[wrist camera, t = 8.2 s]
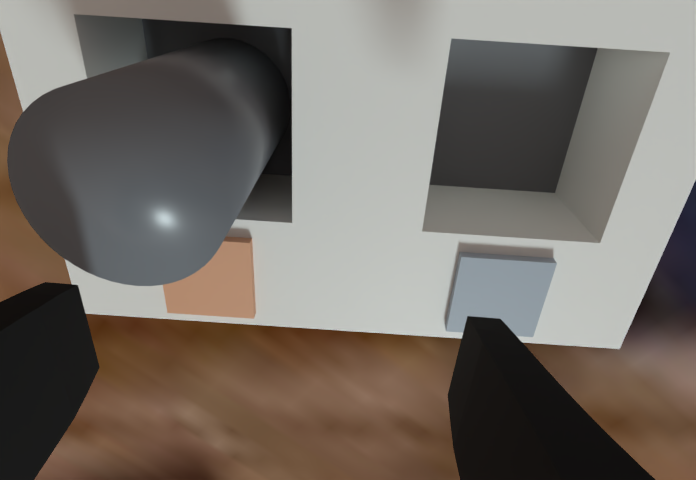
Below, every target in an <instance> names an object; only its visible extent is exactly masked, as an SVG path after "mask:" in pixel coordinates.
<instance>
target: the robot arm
mask: <svg viewBox="0 0 696 480" xmlns="http://www.w3.org/2000/svg"><path fill="white" fill-rule="evenodd" d="M98 369H99V364H98V360H97V356H96V352H95V348H94V345H93V341H92V337H91V333H90V329H89V325H88V321H87V318H86V314H85V310H84V306H83V302H82V298H81V295H80V291H79V287H78V285H72V284H60V283H47V282H45V283H42V284H40V285H37V286H35V287H33V288H30V289H28V290H26V291H23V292H21V293H19V294H17V295H15V296H12V297H10V298H8V299H6V300H4V301H2V302H0V480H34V479H35V477H36V476H37V474H38V473H39V471H40V470H41V468H42V467H43V465H44V464H45V462H46V461H47V459H48V458H49V456H50V455H51V453H52V452H53V450H54V449H55V447H56V446H57V444H58V442H59V441H60V439H61V438H62V436H63V435H64V433H65V432H66V430H67V429H68V427H69V426H70V424H71V422H72V421H73V419H74V418H75V416H76V414H77V412H78V410H79V408H80V406H81V404H82V402H83V400H84V398H85V397H86V395H87V392H88V390H89V388H90V386H91V384H92V382H93V380H94V378H95V375H96V373H97V371H98ZM448 401H449V412H450V422H451V431H452V439H453V448H454V453H455V457H456V462H457V467H458V471H459V476H460V480H655V479H654V478H653V477H652V476H651V475H650V474H649V473H648V472H646V471H645V470H644V469H643V468H642V467H641V466H640V465H639V464H638V463H637V462H636V461H635V460H634V459H633V458H632V457H631V456H630V455H629V454H628V453H627V452H626V451H625V450H624V449H623V448H621V447H620V446H619V445H618V444H617V443H616V442H615V441H614V440H613V439H612V438H611V437H610V436H609V435H608V434H607V433H606V432H605V431H604V430H603V429H602V428H601V427H600V426H599V425H598V424H597V423H596V422H595V421H594V420H593V419H592V418H591V417H590V416H589V415H588V414H587V413H586V412H585V411H584V410H583V409H582V407H581V406H580V405H579V404H578V403H577V402H576V401H575V400H574V399H573V398H572V397H571V396H570V395H569V394H568V393H567V392H566V391H565V389H564V388H563V387H562V386H561V385H560V384H559V383H558V382H557V381H556V380H555V379H554V378H553V376H552V375H551V374H550V373H549V372H548V371H547V370H546V369H545V368H544V366H543V365H542V364H541V363H540V362H539V361H538V360H537V359H536V358H535V356H534V355H533V354H532V353H531V352H530V351H529V350H528V349H527V347H526V346H525V345H524V344H523V343H522V342H521V341H520V340H519V338H518V337H517V336H516V335H515V334H514V333H513V332H512V331H511V329H510V328H509V327H508V326H507V325H506V324H505V323H504V322H503V321H502V320H501V319H499V318H486V317H474V316H467V320H466V324H465V328H464V332H463V336H462V340H461V344H460V348H459V352H458V356H457V360H456V364H455V368H454V372H453V376H452V380H451V384H450V388H449V393H448Z"/></svg>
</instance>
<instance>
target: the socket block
mask: <svg viewBox="0 0 696 480" xmlns="http://www.w3.org/2000/svg"><path fill="white" fill-rule="evenodd" d="M0 31H1V35H2V38H3V42H4V46H5V49H6V53H7V56H8V60H9V63H10V67H11V70H12V74H13V77H14V81H15V84H16V88H17V92H18V95H19V99H20V102H21V106H22V109H23V112H24V111H25V110H26V108H27V107H28V106H29V105H30V104H31V103H32V102H34V101H35V100H36V99H38V98H39V97H40V96H42V95H43V94H45V93H47V92H49V91H51V90H53V89H55V88H59V87H62V86H65V85H68V84H71V83H74V82H78V81H81V80H84V79H87V78H90V77H93V76H97V75H100V74H103V73H106V72H109V71H112V70H116V69H119V68H122V67H125V66H128V65H131V64H135V63H138V62H141V61H144V60H147V59H150V58H154V57H157V56H160V55H163V54H166V53H169V52H173V51H176V50H179V49H182V48H185V47H188V46H192V45H195V44H198V43H201V42H204V41H207V40H211V39H217V38H229V39H236V40H239V41H243V42H245V43H248V44H250V45H252V46H254V47H256V48H257V49H259V50H260V51H262V52H263V53H264V54H265V55H267V56H268V57H269V58H270V59H271V60H272V61H273V63H274V64H275V65H276V66H277V68H278V69H279V71H280V72H281V74H282V76H283V78H284V80H285V82H286V85H287V88H288V92H289V97H290V116H289V121H288V125H287V127H286V130H285V132H284V134H283V136H282V138H281V139H280V141H279V143H278V145H277V146H276V148H275V150H274V152H273V154H272V155H271V157H270V159H269V161H268V162H267V164H266V166H265V168H264V170H263V171H262V173H261V175H260V177H259V178H258V180H257V182H256V184H255V186H254V187H253V189H252V191H251V193H250V194H249V196H248V198H247V200H246V202H245V203H244V205H243V207H242V209H241V210H240V212H239V214H238V216H237V217H236V219H235V221H234V223H233V225H232V226H231V228H230V230H229V232H228V233H227V235H226V237H225V239H224V241H223V242H222V244H221V246H220V248H219V249H218V251H217V252H216V254H215V255H214V256H213V258H212V259H211V260H210V261H209V262H208V263H207V264H206V265H205V266H204V267H202V268H201V269H200V270H198V271H197V272H196V273H194V274H192V275H190V276H188V277H186V278H184V279H182V280H179V281H176V282H173V283H169V284H164V285H157V286H133V285H125V284H120V283H116V282H112V281H109V280H106V279H103V278H100V277H97V276H95V275H92V274H90V273H88V272H86V271H84V270H82V269H80V268H79V267H77V266H75V265H73V264H72V263H70V262H69V261H67V260H66V259H65V261H66V265H67V268H68V272H69V276H70V279H71V283H72V285H78V287H79V291H80V295H81V298H82V302H83V306H84V310H85V313H86V314H101V315H116V316H131V317H146V318H161V319H176V320H191V321H206V322H221V323H236V324H251V325H267V326H282V327H297V328H312V329H327V330H342V331H357V332H372V333H387V334H402V335H417V336H432V337H448V338H462V336H463V332H464V328H465V324H466V320H467V316H474V317H486V318H499V319H501V320H502V321H503V322H504V323H505V324H506V325H507V326H508V327H509V328H510V329H511V331H512V332H513V333H514V334H515V335H516V336H517V337H518V338H519V340H520V341H521V342H523V343H538V344H553V345H568V346H583V347H598V348H613V349H620V347H621V345H622V343H623V340H624V338H625V336H626V334H627V331H628V329H629V327H630V325H631V323H632V320H633V318H634V316H635V314H636V311H637V309H638V307H639V305H640V303H641V300H642V298H643V296H644V294H645V291H646V289H647V287H648V285H649V283H650V280H651V278H652V276H653V274H654V271H655V269H656V267H657V265H658V262H659V260H660V258H661V256H662V254H663V251H664V249H665V247H666V245H667V242H668V240H669V238H670V236H671V234H672V231H673V229H674V227H675V225H676V222H677V220H678V218H679V216H680V214H681V211H682V209H683V207H684V205H685V202H686V200H687V198H688V196H689V194H690V191H691V189H692V187H693V185H694V182H695V180H696V0H0Z"/></svg>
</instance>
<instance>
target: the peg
mask: <svg viewBox="0 0 696 480" xmlns="http://www.w3.org/2000/svg"><path fill="white" fill-rule="evenodd" d="M289 116H290V97H289V92H288V88H287V85H286V82H285V80H284V78H283V76H282V74H281V72H280V71H279V69H278V68H277V66H276V65H275V64H274V63H273V61H272V60H271V59H270V58H269V57H268V56H267V55H265V54H264V53H263V52H262V51H260V50H259V49H257V48H256V47H254V46H252V45H250V44H248V43H245V42H243V41H239V40H236V39H229V38H217V39H211V40H207V41H204V42H201V43H198V44H195V45H192V46H188V47H185V48H182V49H179V50H176V51H173V52H169V53H166V54H163V55H160V56H157V57H154V58H150V59H147V60H144V61H141V62H138V63H135V64H131V65H128V66H125V67H122V68H119V69H116V70H112V71H109V72H106V73H103V74H100V75H97V76H93V77H90V78H87V79H84V80H81V81H78V82H74V83H71V84H68V85H65V86H62V87H59V88H55V89H53V90H51V91H49V92H47V93H45V94H43V95H42V96H40V97H39V98H38V99H36V100H35V101H34V102H32V103H31V104H30V105H29V106H28V107H27V108H26V110H25V111H24V112H23V113H22V114H21V116H20V118H19V119H18V121H17V122H16V124H15V127H14V129H13V131H12V134H11V137H10V142H9V146H8V159H7V162H8V173H9V178H10V182H11V187H12V190H13V193H14V195H15V198H16V201H17V203H18V205H19V207H20V209H21V211H22V212H23V214H24V216H25V217H26V219H27V220H28V222H29V223H30V225H31V226H32V228H33V229H34V230H35V231H36V232H37V234H38V235H39V236H40V237H41V238H42V239H43V240H44V241H45V242H46V243H47V244H48V245H49V246H50V247H51V248H52V249H53V250H54V251H55V252H57V253H58V254H59V255H60V256H62V257H63V258H64V259H66V260H67V261H69V262H70V263H72V264H73V265H75V266H77V267H79V268H80V269H82V270H84V271H86V272H88V273H90V274H92V275H95V276H97V277H100V278H103V279H106V280H109V281H112V282H116V283H120V284H125V285H133V286H157V285H164V284H169V283H173V282H176V281H179V280H182V279H184V278H186V277H188V276H190V275H192V274H194V273H196V272H197V271H198V270H200V269H201V268H202V267H204V266H205V265H206V264H207V263H208V262H209V261H210V260H211V259H212V258H213V256H214V255H215V254H216V252H217V251H218V249H219V248H220V246H221V244H222V242H223V241H224V239H225V237H226V235H227V233H228V232H229V230H230V228H231V226H232V225H233V223H234V221H235V219H236V217H237V216H238V214H239V212H240V210H241V209H242V207H243V205H244V203H245V202H246V200H247V198H248V196H249V194H250V193H251V191H252V189H253V187H254V186H255V184H256V182H257V180H258V178H259V177H260V175H261V173H262V171H263V170H264V168H265V166H266V164H267V162H268V161H269V159H270V157H271V155H272V154H273V152H274V150H275V148H276V146H277V145H278V143H279V141H280V139H281V138H282V136H283V134H284V132H285V130H286V127H287V125H288V121H289Z"/></svg>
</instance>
